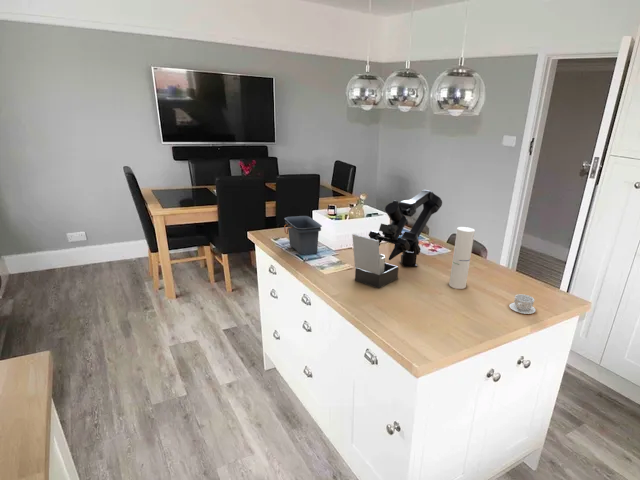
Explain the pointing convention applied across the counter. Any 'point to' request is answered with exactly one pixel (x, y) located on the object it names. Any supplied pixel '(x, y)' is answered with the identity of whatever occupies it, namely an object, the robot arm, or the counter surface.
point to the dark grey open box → (377, 276)
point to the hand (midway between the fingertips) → (380, 257)
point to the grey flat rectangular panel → (366, 254)
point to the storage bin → (303, 234)
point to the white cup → (382, 263)
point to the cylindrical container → (461, 257)
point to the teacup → (523, 304)
